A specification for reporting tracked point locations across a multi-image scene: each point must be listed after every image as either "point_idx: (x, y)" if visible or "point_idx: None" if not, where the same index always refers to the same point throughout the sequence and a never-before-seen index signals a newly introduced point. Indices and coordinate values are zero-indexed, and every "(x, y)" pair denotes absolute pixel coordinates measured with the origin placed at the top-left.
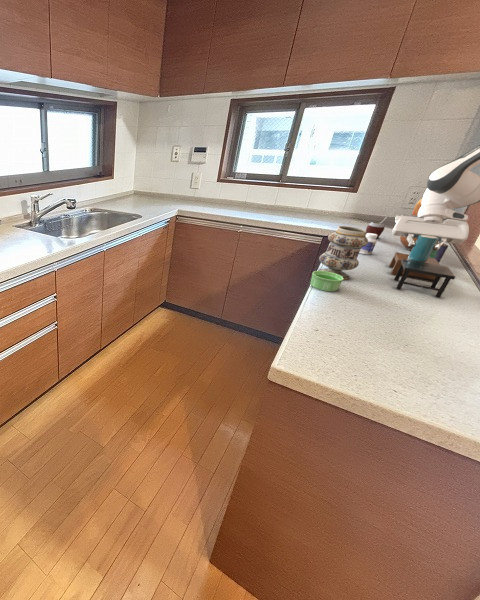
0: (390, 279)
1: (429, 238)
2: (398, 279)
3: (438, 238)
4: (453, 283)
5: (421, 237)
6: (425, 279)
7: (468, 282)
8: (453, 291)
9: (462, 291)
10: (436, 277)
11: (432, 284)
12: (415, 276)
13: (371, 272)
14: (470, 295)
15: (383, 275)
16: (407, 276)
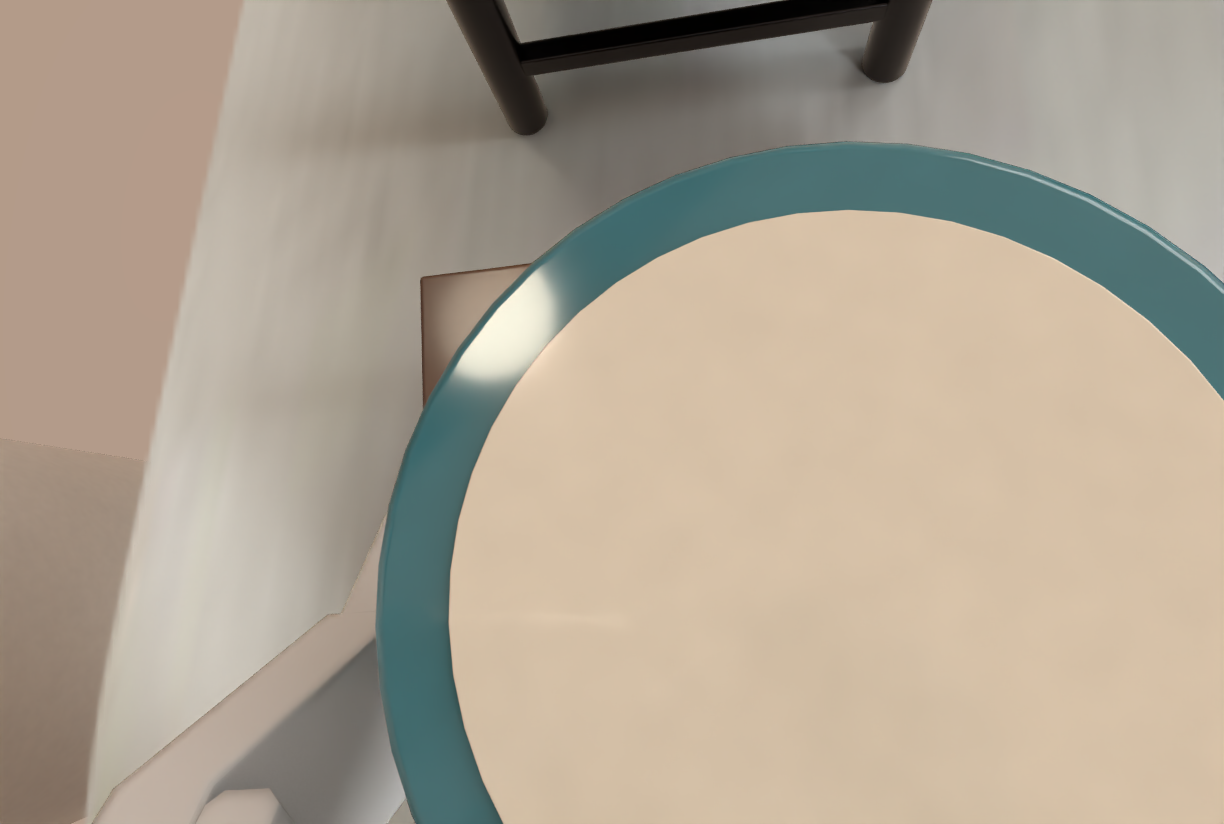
0: (940, 57)
1: (797, 146)
2: (866, 46)
3: (406, 453)
4: (302, 510)
5: (1151, 276)
6: (610, 35)
7: (136, 720)
8: (354, 156)
9: (274, 234)
10: (506, 11)
11: (534, 78)
12: (719, 17)
13: (1198, 185)
14: (233, 150)
15: (1037, 168)
16: (801, 6)
